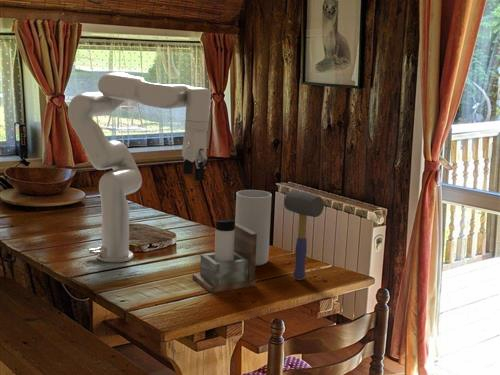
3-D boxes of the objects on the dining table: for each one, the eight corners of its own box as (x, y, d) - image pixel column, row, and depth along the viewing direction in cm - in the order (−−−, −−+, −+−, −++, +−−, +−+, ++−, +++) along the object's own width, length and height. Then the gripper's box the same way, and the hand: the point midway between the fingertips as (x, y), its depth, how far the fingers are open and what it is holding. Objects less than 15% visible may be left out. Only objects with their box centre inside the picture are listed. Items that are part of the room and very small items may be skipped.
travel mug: (219, 282, 210) (221, 222, 206) (210, 276, 216) (212, 217, 212) (236, 280, 213) (239, 220, 209) (227, 273, 219) (229, 215, 215)
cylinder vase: (228, 263, 234) (230, 194, 229) (241, 253, 246) (244, 188, 241) (260, 268, 230) (264, 199, 225) (273, 258, 241) (276, 192, 236)
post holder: (210, 292, 205) (212, 238, 202) (192, 278, 217) (194, 227, 214) (255, 285, 213) (257, 234, 209) (235, 272, 225) (237, 223, 221)
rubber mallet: (278, 276, 223) (282, 190, 216) (292, 271, 228) (297, 187, 222) (306, 286, 214) (312, 197, 208) (320, 281, 219) (326, 194, 213)
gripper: (176, 121, 218) (173, 171, 222) (196, 129, 204) (193, 183, 207) (196, 121, 222) (193, 171, 226) (218, 130, 207) (214, 182, 211)
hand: (193, 177), depth 217 cm, fingers open, 9 cm apart
